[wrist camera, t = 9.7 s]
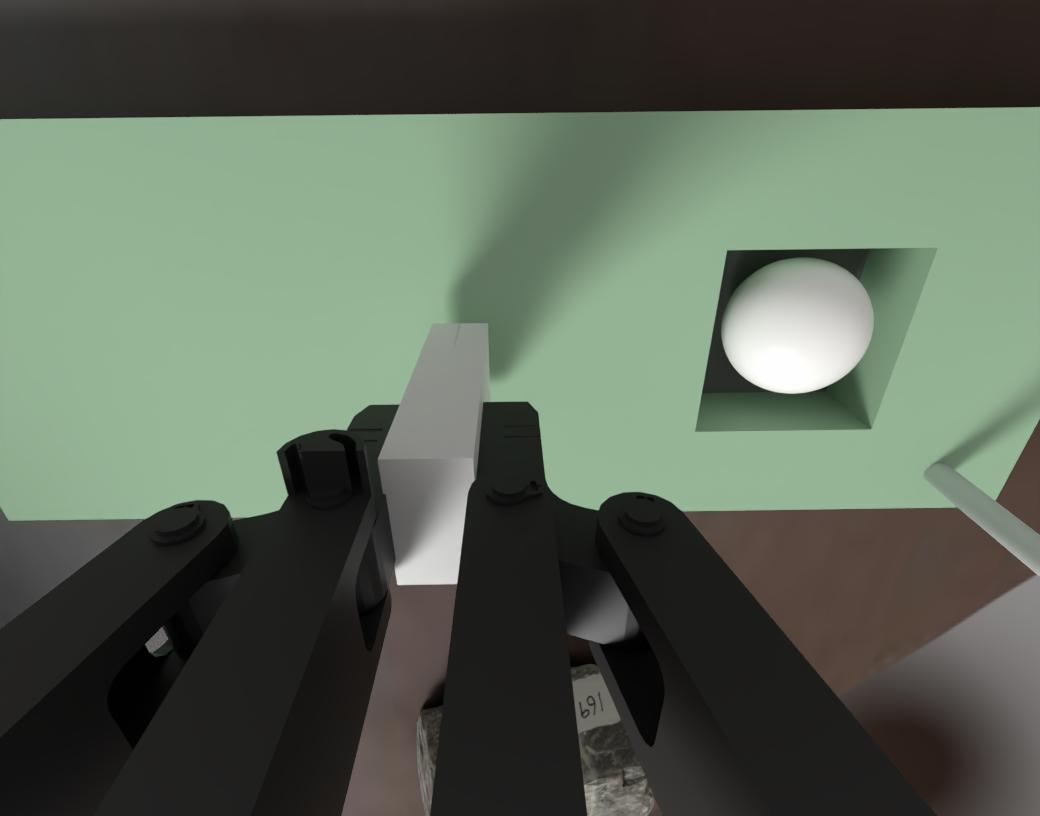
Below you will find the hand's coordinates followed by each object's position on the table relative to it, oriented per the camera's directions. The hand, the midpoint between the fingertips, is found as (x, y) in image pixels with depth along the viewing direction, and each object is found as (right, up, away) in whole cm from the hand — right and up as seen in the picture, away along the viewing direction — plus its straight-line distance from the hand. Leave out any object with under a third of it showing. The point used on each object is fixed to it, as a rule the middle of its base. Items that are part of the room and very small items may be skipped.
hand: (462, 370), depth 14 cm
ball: (+10, +1, +1) cm, 10 cm away
